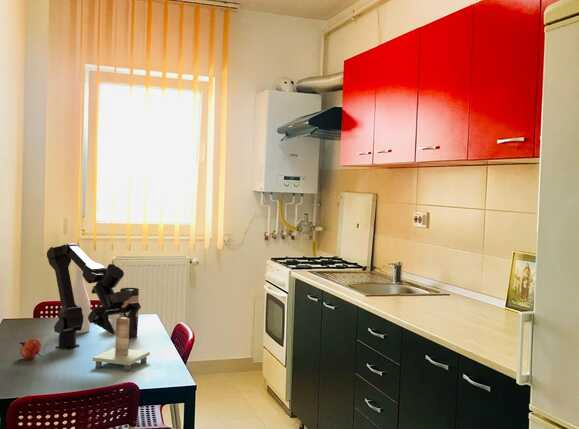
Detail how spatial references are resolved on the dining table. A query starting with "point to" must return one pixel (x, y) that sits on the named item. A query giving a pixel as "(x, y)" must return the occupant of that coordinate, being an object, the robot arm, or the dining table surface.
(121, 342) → the post
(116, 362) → the peg shelf
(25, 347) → the pomegranate
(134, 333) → the travel mug
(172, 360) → the dining table surface
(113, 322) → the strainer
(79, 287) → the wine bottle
